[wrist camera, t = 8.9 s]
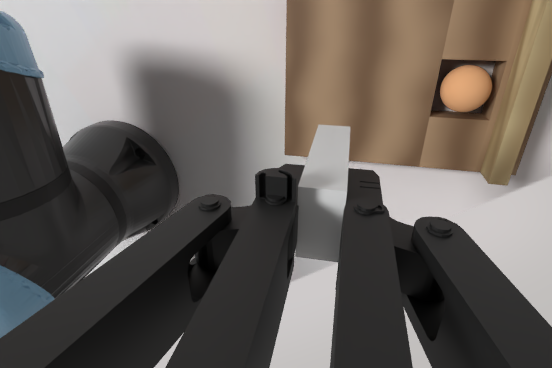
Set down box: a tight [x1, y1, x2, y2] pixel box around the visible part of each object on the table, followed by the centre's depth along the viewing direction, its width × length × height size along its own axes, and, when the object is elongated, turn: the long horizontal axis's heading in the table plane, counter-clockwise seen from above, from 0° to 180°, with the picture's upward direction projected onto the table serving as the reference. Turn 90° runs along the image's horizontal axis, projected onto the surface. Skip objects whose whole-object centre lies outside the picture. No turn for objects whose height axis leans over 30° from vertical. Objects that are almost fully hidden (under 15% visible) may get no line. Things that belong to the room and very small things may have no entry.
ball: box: [440, 65, 492, 112], centre depth 30 cm, size 4×4×4 cm
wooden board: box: [285, 0, 552, 185], centre depth 30 cm, size 22×15×5 cm
